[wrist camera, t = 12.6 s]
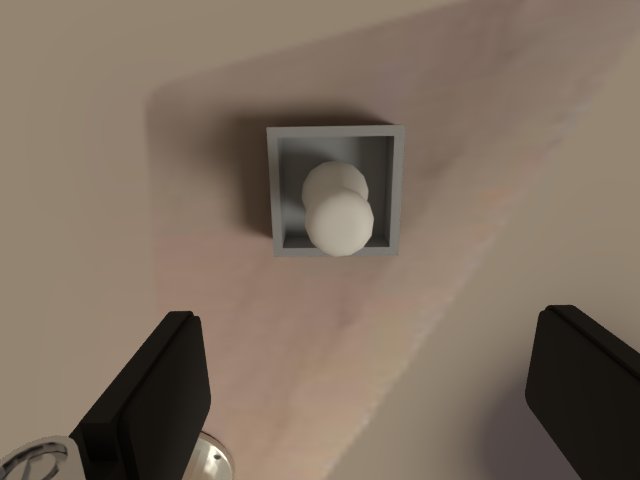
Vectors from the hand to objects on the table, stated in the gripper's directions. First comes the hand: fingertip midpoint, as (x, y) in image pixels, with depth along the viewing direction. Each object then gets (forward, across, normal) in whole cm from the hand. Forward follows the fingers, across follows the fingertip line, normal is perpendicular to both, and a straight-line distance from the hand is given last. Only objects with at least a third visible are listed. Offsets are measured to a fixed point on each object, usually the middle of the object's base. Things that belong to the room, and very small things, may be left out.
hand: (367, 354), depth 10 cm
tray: (+26, 0, 0) cm, 26 cm away
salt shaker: (+26, 0, 0) cm, 26 cm away
